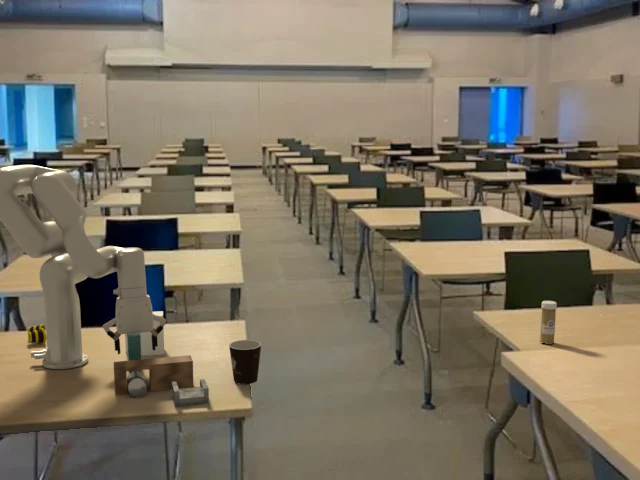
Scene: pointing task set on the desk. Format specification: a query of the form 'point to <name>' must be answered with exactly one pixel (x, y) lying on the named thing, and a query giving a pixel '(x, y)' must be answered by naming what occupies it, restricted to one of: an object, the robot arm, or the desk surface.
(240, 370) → the dark brown paper cup
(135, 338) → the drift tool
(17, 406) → the desk surface
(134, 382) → the axle
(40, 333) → the opera glasses
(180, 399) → the cradle
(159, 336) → the corner bracket
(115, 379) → the wooden panel with opening
